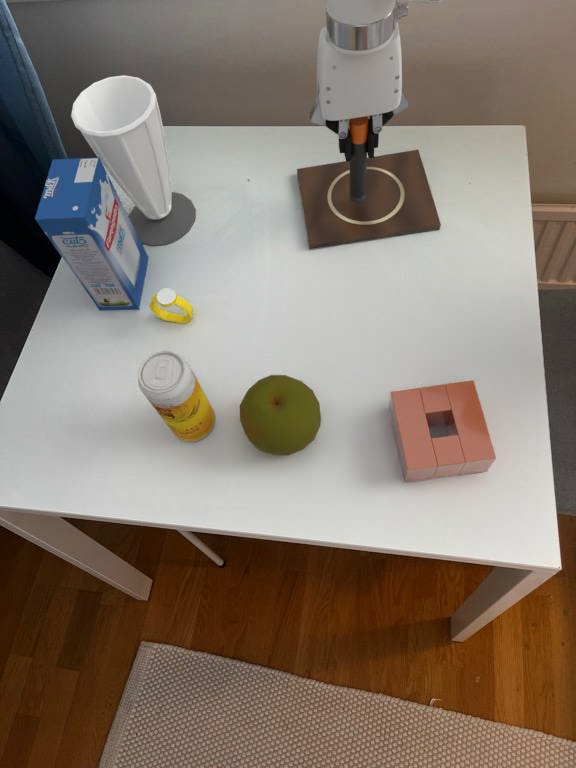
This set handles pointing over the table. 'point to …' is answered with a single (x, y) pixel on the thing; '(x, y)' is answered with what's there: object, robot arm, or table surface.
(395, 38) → the robot arm
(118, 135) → the cup
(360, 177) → the marker
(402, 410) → the holder
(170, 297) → the watch
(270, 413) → the apple
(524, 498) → the table surface
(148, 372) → the beer can
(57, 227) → the milk carton
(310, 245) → the brown flat wooden board
